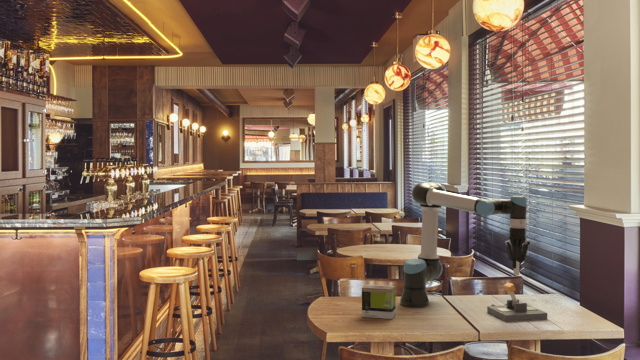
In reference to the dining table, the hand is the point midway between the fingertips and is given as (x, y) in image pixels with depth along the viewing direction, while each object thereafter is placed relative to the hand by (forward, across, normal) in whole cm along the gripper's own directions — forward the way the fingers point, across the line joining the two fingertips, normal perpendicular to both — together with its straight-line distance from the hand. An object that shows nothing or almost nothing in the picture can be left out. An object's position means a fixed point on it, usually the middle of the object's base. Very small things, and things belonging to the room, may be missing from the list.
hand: (516, 274), depth 289 cm
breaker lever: (+17, +1, -1) cm, 17 cm away
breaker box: (+20, 0, +3) cm, 21 cm away
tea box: (+21, -66, +12) cm, 71 cm away
